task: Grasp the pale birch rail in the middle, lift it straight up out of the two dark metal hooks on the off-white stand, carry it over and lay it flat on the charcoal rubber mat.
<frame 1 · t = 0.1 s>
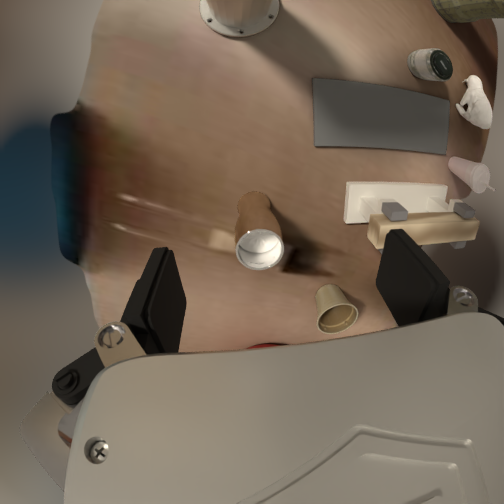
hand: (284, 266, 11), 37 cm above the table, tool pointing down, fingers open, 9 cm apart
thermos: (445, 5, 24), on the table
flower pot: (327, 292, 62), on the table
mat: (389, 117, 40), on the table
white animal figurine: (464, 97, 36), on the table
smoothie: (453, 163, 45), on the table
rail: (424, 222, 41), point 10 cm above the table, touching hook stand
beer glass: (253, 206, 50), on the table
hook stand: (398, 200, 49), on the table
camera lens: (418, 64, 34), on the table
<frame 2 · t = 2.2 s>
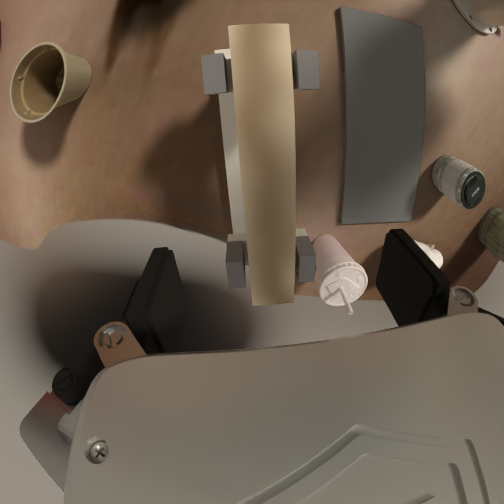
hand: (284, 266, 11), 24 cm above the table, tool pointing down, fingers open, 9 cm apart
thermos: (490, 224, 38), on the table
flower pot: (75, 79, 24), on the table
mat: (386, 119, 29), on the table
white animal figurine: (409, 248, 41), on the table
smoothie: (324, 244, 39), on the table
rail: (264, 169, 23), point 10 cm above the table, touching hook stand
hook stand: (257, 147, 31), on the table
camera lens: (443, 171, 33), on the table
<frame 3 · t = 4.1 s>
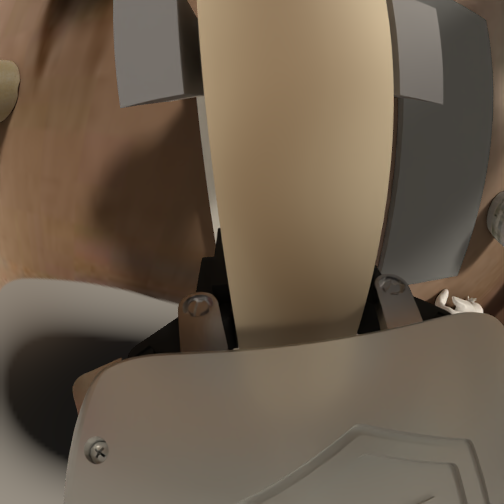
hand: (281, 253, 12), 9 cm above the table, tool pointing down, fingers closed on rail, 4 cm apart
flower pot: (3, 91, 13), on the table
mat: (447, 143, 18), on the table
white animal figurine: (447, 303, 30), on the table
rail: (283, 262, 12), point 10 cm above the table, touching gripper, hook stand
hook stand: (263, 186, 20), on the table
camera lens: (498, 211, 22), on the table
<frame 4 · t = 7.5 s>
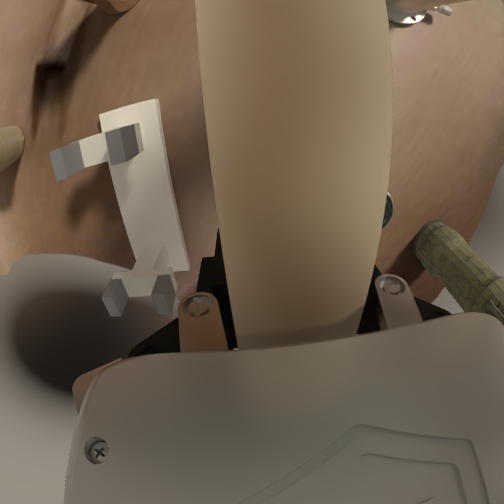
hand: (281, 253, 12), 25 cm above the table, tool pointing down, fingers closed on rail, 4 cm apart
thermos: (430, 240, 42), on the table
flower pot: (14, 142, 28), on the table
rail: (283, 263, 12), point 25 cm above the table, touching gripper
hook stand: (146, 192, 35), on the table
camera lens: (351, 191, 37), on the table
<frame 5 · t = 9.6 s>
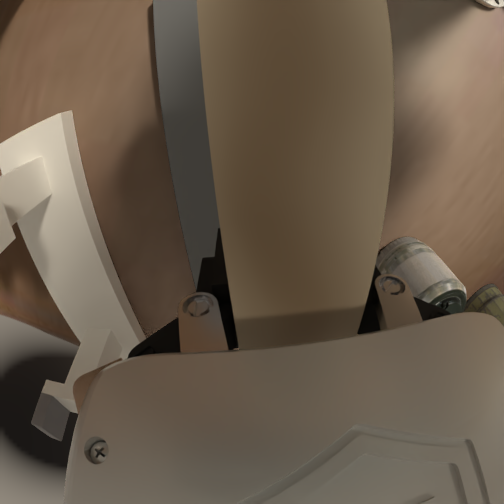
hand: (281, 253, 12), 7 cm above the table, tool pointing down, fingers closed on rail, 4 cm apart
thermos: (476, 306, 28), on the table
mat: (266, 195, 18), on the table
rail: (283, 263, 12), point 8 cm above the table, touching gripper
hook stand: (75, 262, 20), on the table
camera lens: (398, 261, 22), on the table
when the fingers open (2 cm above the table, at t = 11.1 s): rail drops 2 cm, resting on mat.
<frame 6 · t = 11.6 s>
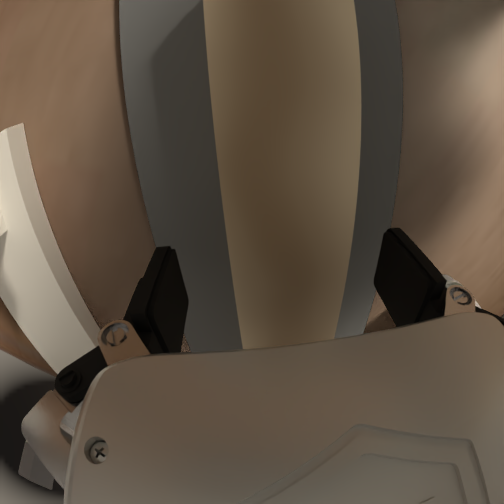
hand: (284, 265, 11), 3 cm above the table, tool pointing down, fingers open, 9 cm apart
mat: (276, 234, 14), on the table
rail: (277, 242, 13), point 1 cm above the table, touching mat
hook stand: (47, 303, 16), on the table
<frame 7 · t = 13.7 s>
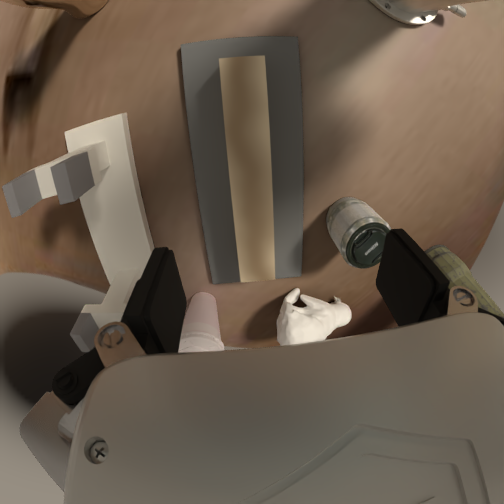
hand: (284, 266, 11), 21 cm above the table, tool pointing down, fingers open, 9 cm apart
thermos: (431, 265, 39), on the table
mat: (249, 168, 29), on the table
white animal figurine: (310, 301, 41), on the table
smoothie: (203, 300, 39), on the table
rail: (249, 170, 29), point 1 cm above the table, touching mat
hook stand: (117, 216, 31), on the table
camera lens: (345, 216, 33), on the table
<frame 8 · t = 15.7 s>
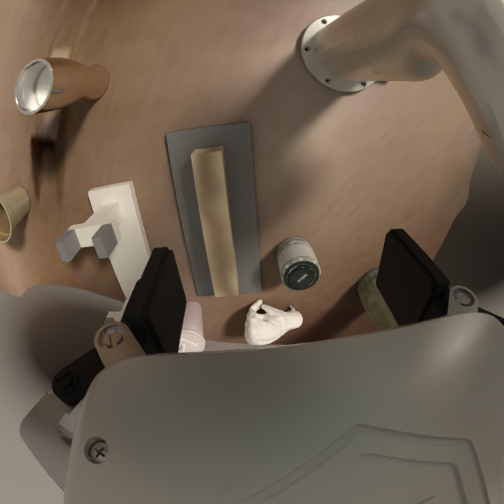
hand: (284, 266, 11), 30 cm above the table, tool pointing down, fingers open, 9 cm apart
thermos: (375, 283, 53), on the table
flower pot: (21, 200, 38), on the table
mat: (219, 219, 43), on the table
white animal figurine: (272, 309, 55), on the table
smoothie: (192, 307, 54), on the table
rail: (218, 222, 43), point 1 cm above the table, touching mat
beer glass: (93, 82, 29), on the table
hook stand: (129, 250, 45), on the table
camera lens: (293, 249, 47), on the table
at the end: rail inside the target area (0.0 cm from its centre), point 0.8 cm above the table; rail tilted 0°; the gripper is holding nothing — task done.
